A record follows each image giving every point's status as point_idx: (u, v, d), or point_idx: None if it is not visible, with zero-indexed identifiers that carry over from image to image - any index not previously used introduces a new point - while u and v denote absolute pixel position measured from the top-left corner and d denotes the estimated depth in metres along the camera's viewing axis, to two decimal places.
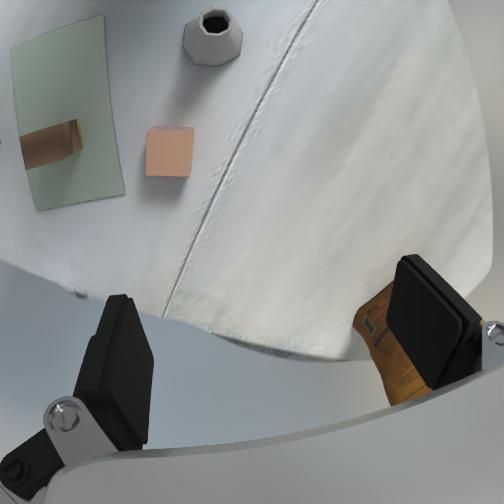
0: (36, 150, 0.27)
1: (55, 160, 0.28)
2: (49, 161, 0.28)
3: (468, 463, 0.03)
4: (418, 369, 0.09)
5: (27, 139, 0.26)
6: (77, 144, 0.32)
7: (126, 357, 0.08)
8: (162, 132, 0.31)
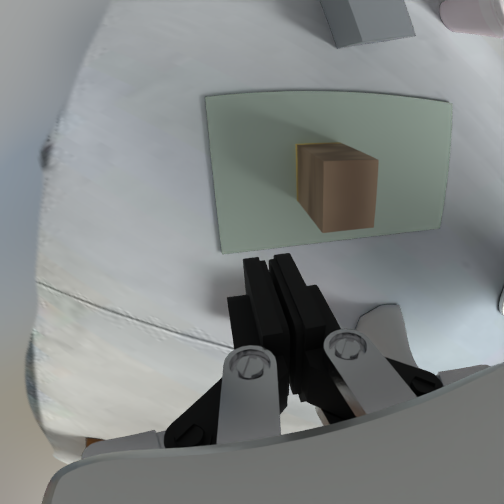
0: (348, 190, 0.20)
1: (325, 222, 0.21)
2: (326, 212, 0.21)
3: (468, 463, 0.03)
4: None
5: (370, 175, 0.20)
6: None
7: None
8: None
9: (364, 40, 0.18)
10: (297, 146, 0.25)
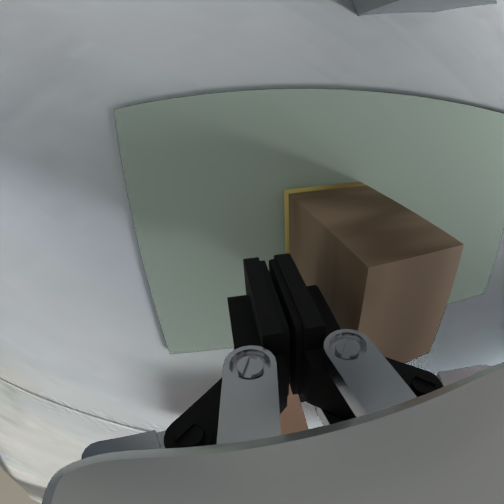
0: (405, 311, 0.09)
1: None
2: None
3: (468, 463, 0.03)
4: None
5: (445, 276, 0.09)
6: None
7: None
8: None
9: None
10: (289, 196, 0.14)
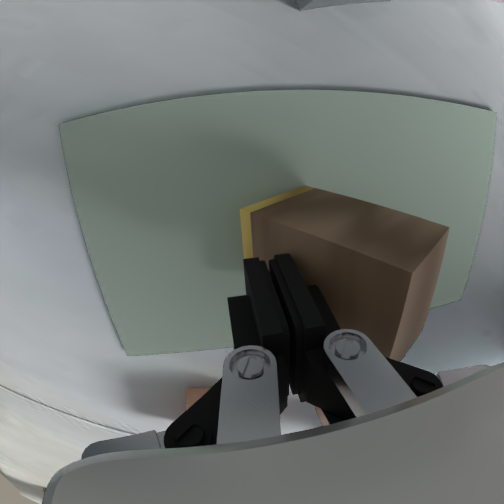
0: (419, 302, 0.10)
1: None
2: (391, 357, 0.09)
3: (468, 463, 0.03)
4: None
5: (439, 259, 0.10)
6: None
7: None
8: None
9: None
10: (251, 215, 0.12)
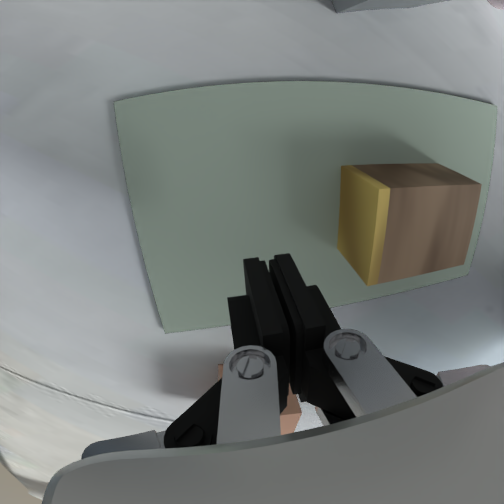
0: None
1: None
2: None
3: (468, 463, 0.03)
4: None
5: None
6: None
7: None
8: (294, 425, 0.20)
9: None
10: (390, 190, 0.13)
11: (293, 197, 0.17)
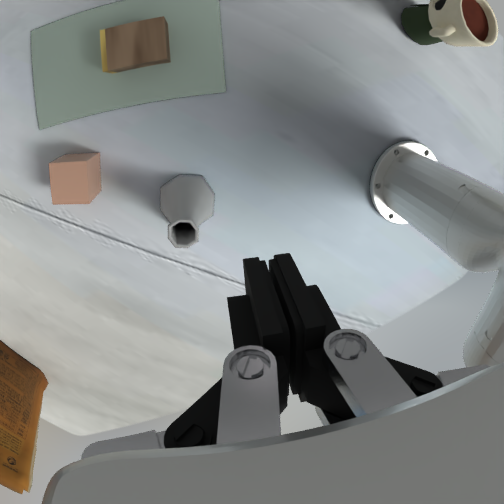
0: (166, 36, 0.27)
1: (166, 52, 0.27)
2: (166, 45, 0.27)
3: (468, 463, 0.03)
4: None
5: (167, 31, 0.28)
6: (119, 68, 0.27)
7: None
8: (86, 176, 0.31)
9: None
10: (105, 29, 0.24)
11: (90, 52, 0.28)
